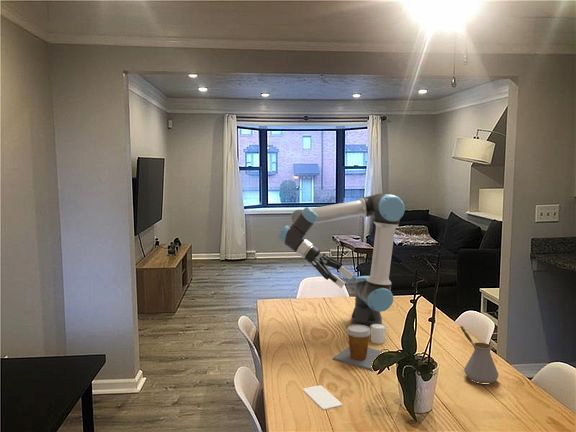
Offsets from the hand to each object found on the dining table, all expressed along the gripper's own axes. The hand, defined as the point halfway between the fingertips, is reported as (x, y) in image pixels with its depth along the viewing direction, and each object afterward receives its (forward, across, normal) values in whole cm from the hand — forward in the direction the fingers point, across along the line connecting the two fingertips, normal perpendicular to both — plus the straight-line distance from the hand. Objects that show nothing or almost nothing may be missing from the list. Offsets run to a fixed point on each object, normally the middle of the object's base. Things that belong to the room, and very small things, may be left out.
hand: (347, 281), depth 197 cm
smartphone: (+19, +51, -19) cm, 58 cm away
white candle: (+26, -7, -17) cm, 31 cm away
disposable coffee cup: (+22, +16, -17) cm, 32 cm away
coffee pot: (+58, +12, +5) cm, 60 cm away
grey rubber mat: (+24, +14, -17) cm, 32 cm away
